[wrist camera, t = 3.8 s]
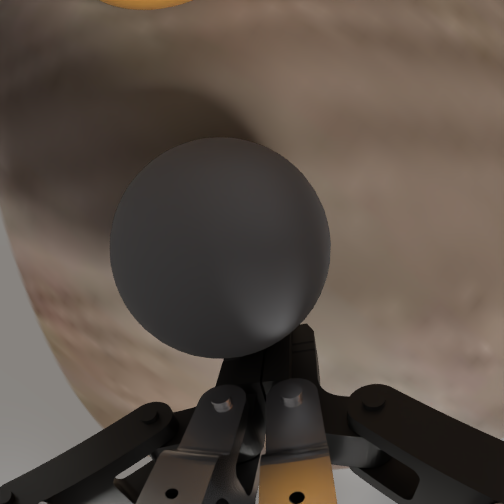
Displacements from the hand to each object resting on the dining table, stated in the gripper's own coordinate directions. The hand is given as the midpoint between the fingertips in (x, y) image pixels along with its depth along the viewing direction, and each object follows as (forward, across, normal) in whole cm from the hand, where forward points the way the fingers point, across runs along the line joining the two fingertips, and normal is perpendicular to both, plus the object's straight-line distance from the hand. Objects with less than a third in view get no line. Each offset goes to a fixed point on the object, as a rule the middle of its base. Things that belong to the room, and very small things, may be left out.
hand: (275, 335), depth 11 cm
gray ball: (-2, +1, -4) cm, 4 cm away
